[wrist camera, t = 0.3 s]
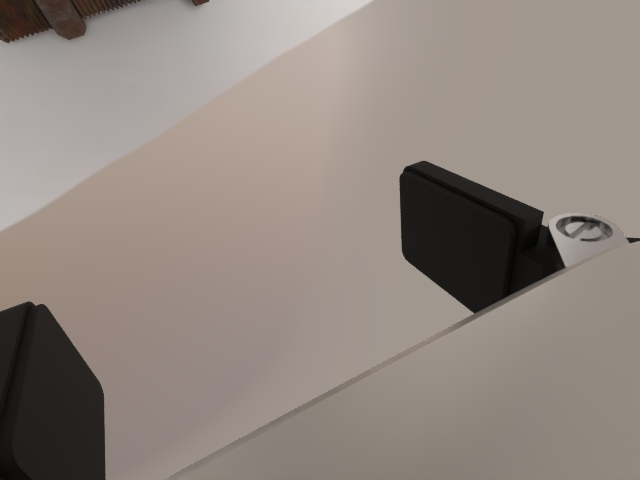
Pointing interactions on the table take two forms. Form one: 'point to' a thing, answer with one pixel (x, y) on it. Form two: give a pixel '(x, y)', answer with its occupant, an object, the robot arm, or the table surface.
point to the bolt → (52, 16)
